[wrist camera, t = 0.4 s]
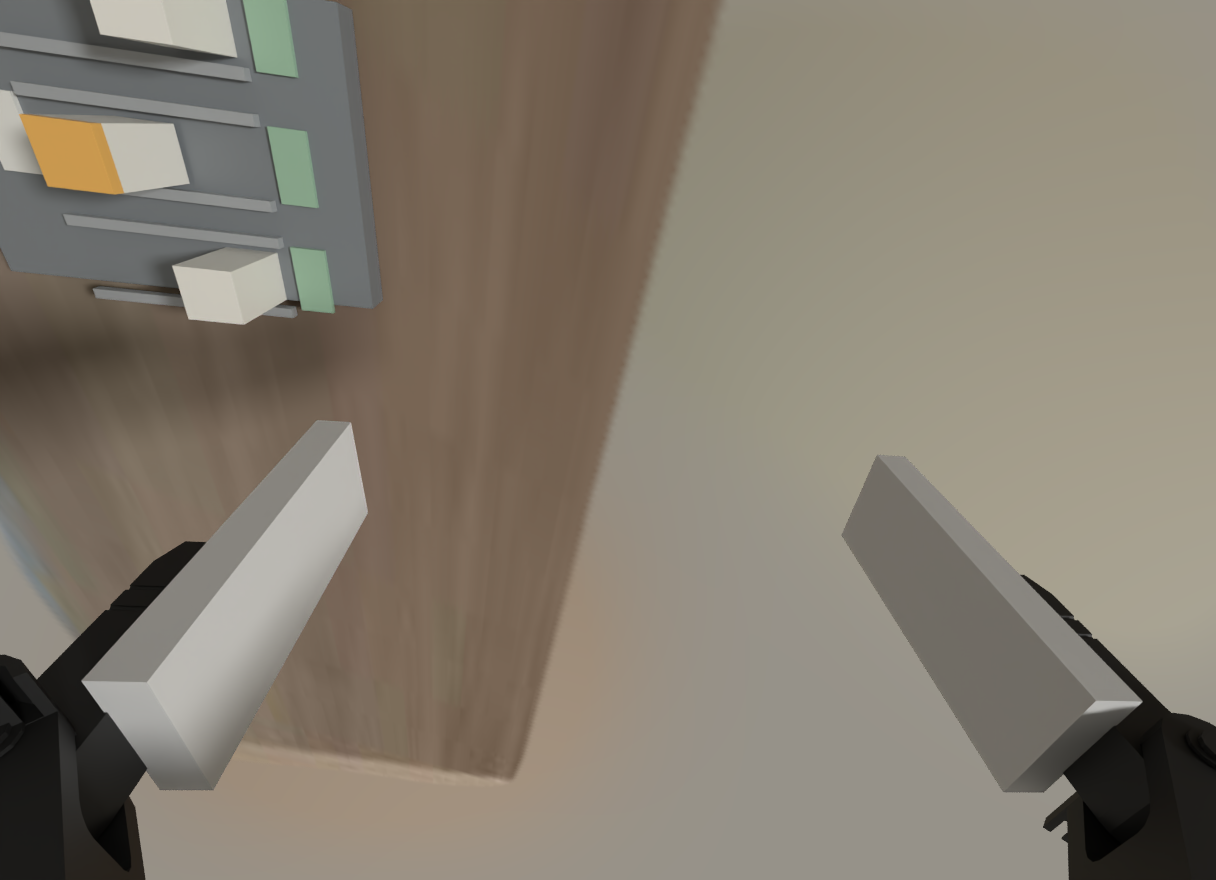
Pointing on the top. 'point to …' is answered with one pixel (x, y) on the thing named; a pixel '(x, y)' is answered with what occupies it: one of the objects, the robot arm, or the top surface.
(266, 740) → the top surface
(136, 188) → the breaker handle
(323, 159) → the panel
